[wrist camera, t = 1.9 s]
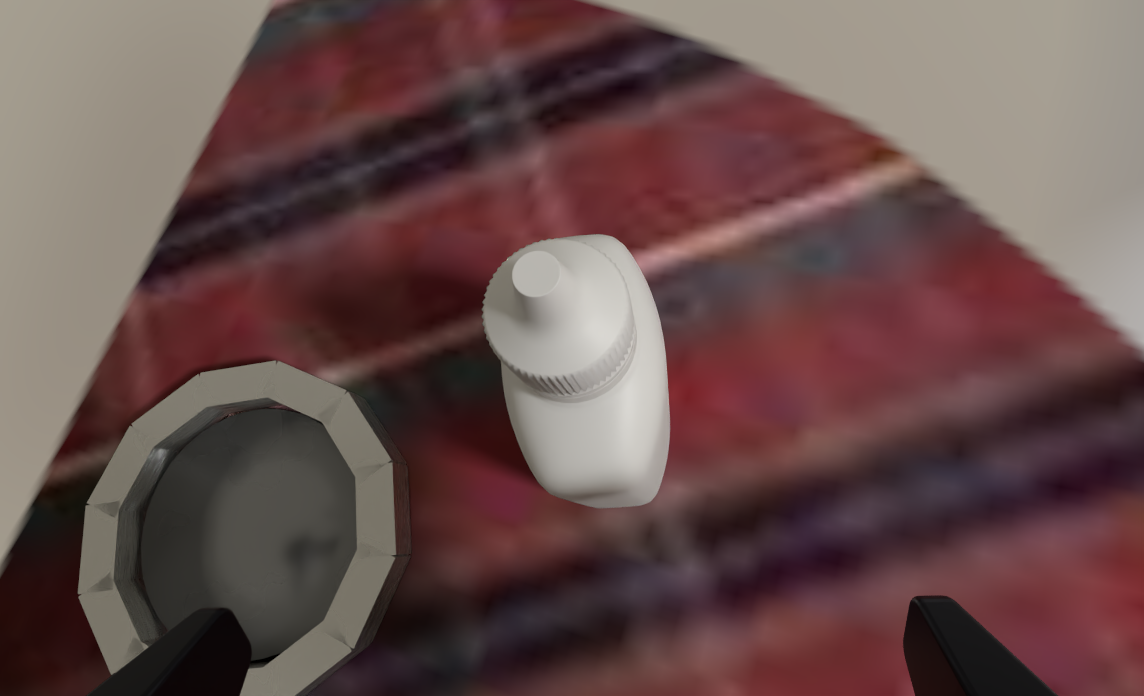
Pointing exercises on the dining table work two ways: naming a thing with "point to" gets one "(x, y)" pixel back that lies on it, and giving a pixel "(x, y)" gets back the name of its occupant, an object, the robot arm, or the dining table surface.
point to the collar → (250, 524)
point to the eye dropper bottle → (582, 369)
